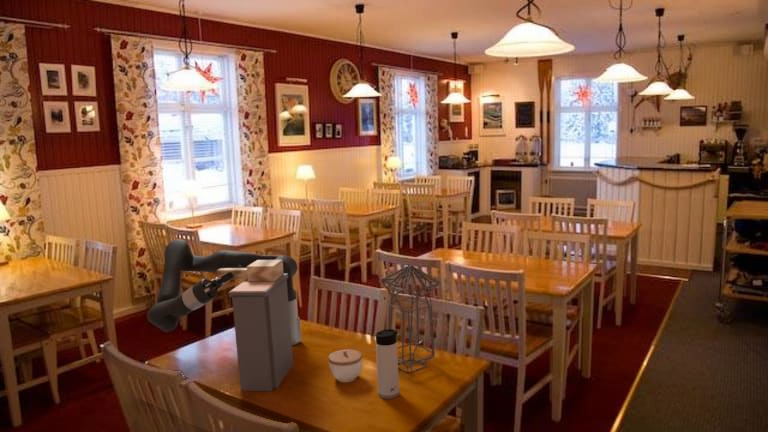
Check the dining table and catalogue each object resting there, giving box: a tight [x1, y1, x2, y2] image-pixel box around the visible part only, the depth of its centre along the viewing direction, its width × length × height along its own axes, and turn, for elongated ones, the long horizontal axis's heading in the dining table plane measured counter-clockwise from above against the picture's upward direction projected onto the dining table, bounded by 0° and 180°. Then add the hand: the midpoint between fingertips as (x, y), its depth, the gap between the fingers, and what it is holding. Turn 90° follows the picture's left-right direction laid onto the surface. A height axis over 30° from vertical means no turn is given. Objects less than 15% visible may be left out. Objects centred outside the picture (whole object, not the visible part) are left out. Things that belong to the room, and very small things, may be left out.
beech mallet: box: [216, 260, 284, 281], centre depth 193 cm, size 21×9×5 cm, turn 81°
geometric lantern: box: [378, 264, 441, 374], centre depth 191 cm, size 16×16×35 cm
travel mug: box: [375, 328, 400, 400], centre depth 173 cm, size 6×7×20 cm
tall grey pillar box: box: [228, 273, 294, 392], centre depth 190 cm, size 12×22×32 cm, turn 172°
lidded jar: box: [328, 349, 363, 383], centre depth 187 cm, size 11×11×9 cm
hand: (237, 270), depth 194 cm, fingers open, 7 cm apart
